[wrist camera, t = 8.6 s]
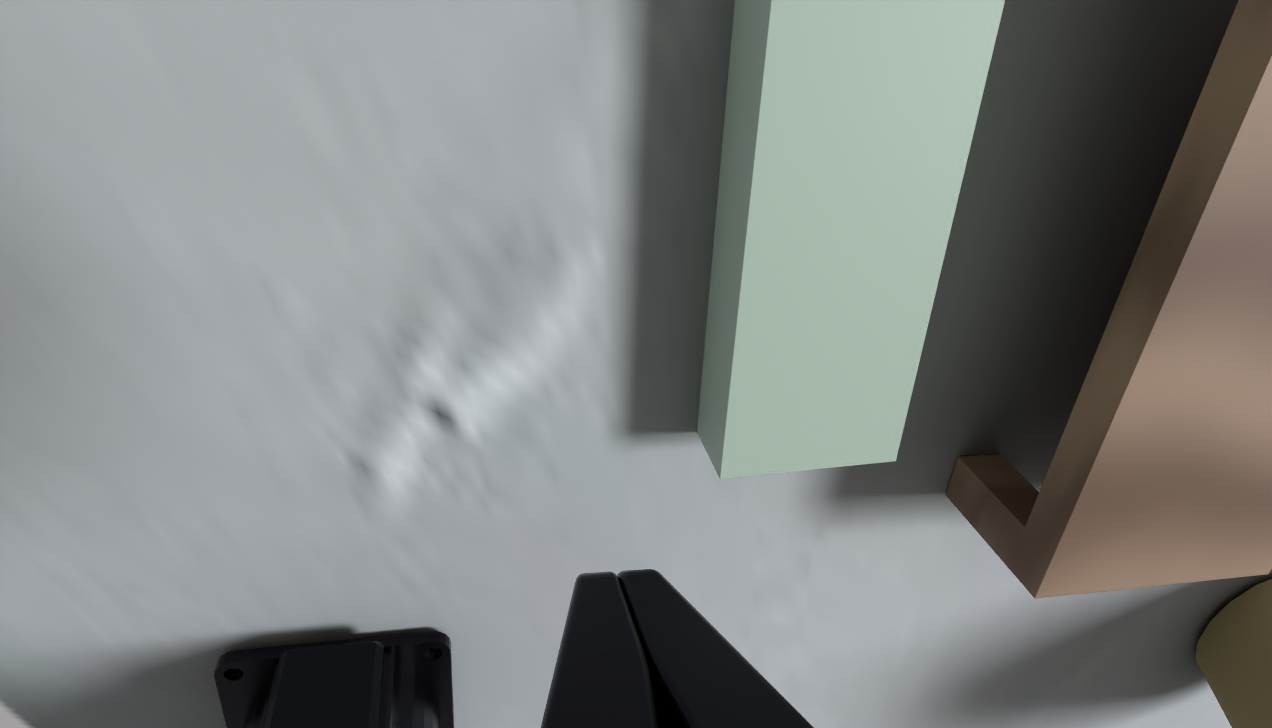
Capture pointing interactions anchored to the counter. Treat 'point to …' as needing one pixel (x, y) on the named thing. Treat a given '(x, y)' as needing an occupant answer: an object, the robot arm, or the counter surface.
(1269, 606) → the squeeze bottle
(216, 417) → the counter surface
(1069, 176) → the counter surface
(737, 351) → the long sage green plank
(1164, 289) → the bench
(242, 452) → the counter surface
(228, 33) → the counter surface
